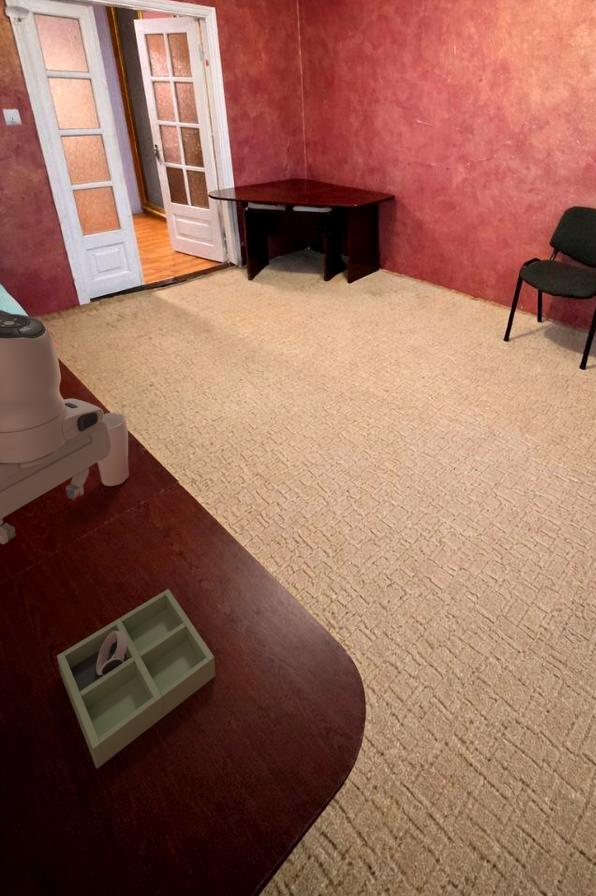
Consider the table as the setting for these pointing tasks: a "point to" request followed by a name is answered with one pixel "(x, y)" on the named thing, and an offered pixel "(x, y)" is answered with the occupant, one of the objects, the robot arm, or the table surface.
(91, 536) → the table surface
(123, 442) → the drinking glass
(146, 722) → the tray
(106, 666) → the wristwatch
